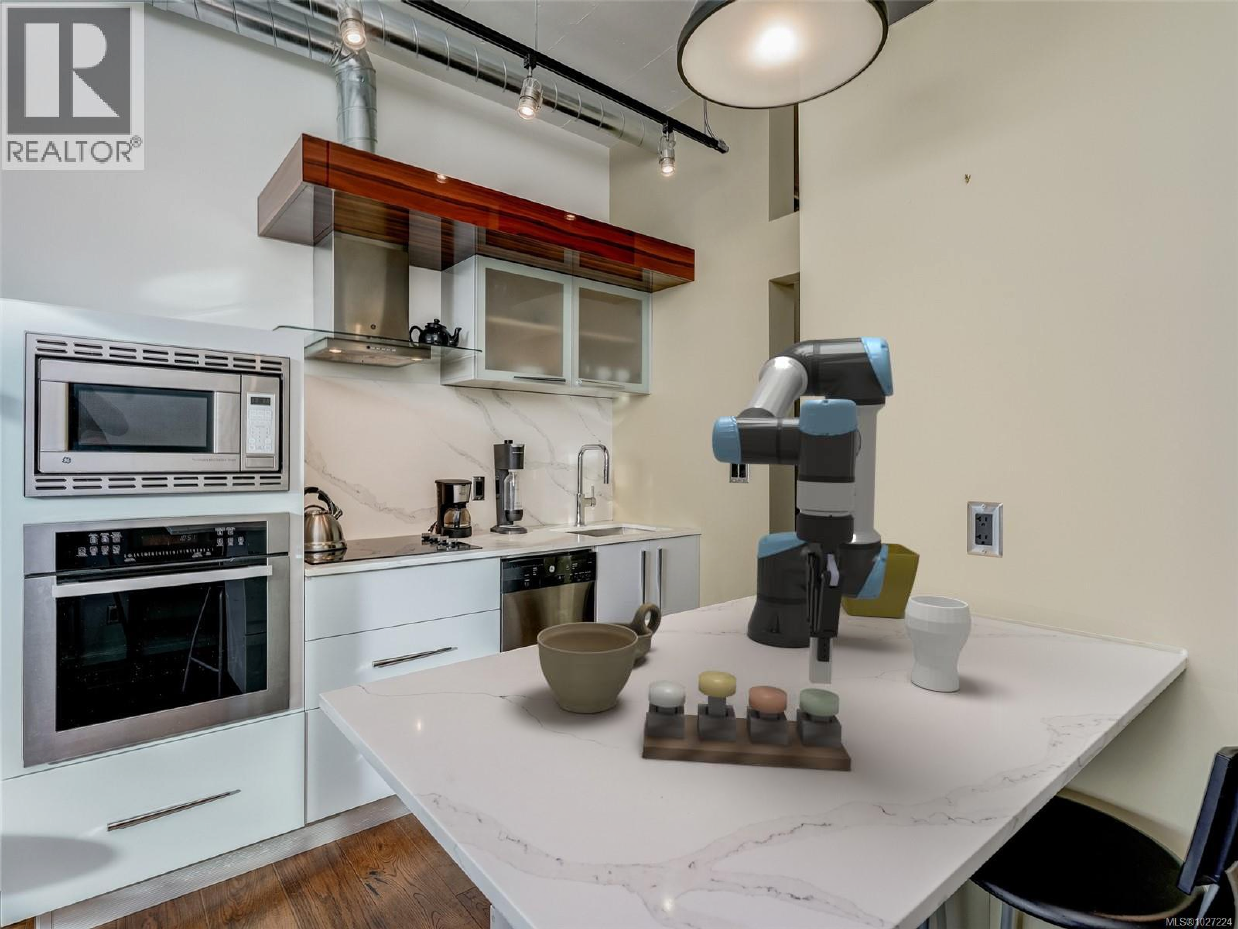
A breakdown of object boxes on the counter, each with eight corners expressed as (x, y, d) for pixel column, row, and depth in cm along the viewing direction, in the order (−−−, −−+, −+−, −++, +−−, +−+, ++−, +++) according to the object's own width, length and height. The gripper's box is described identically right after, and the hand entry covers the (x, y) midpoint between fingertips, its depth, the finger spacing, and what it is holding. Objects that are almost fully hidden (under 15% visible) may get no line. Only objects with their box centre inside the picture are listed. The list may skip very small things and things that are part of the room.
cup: (977, 698, 108) (980, 610, 108) (910, 692, 110) (913, 606, 110) (957, 676, 119) (960, 596, 118) (896, 671, 121) (899, 592, 120)
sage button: (802, 740, 86) (803, 702, 86) (795, 724, 91) (796, 687, 91) (842, 743, 85) (843, 704, 85) (832, 726, 91) (833, 689, 91)
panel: (642, 757, 85) (643, 724, 85) (646, 722, 96) (646, 692, 96) (850, 770, 83) (851, 736, 82) (829, 733, 94) (830, 702, 93)
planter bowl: (543, 682, 111) (545, 620, 111) (636, 685, 111) (638, 623, 110) (527, 722, 95) (529, 649, 95) (636, 726, 95) (637, 653, 94)
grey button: (646, 731, 88) (647, 693, 87) (648, 715, 93) (649, 679, 93) (684, 733, 87) (685, 695, 87) (684, 717, 92) (685, 681, 92)
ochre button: (698, 721, 87) (699, 683, 87) (697, 706, 92) (698, 670, 92) (737, 724, 87) (738, 685, 86) (733, 708, 92) (734, 672, 92)
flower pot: (837, 618, 159) (839, 551, 158) (825, 600, 178) (827, 540, 177) (918, 623, 156) (921, 555, 155) (897, 604, 174) (900, 543, 174)
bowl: (567, 655, 126) (569, 605, 125) (638, 641, 136) (639, 595, 136) (607, 676, 115) (608, 621, 114) (681, 659, 125) (682, 609, 124)
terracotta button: (750, 737, 86) (751, 699, 86) (745, 721, 92) (746, 684, 92) (789, 740, 86) (790, 701, 86) (782, 723, 91) (783, 686, 91)
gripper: (867, 519, 81) (861, 702, 82) (840, 507, 94) (835, 666, 95) (807, 517, 81) (801, 699, 82) (788, 506, 94) (784, 663, 95)
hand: (819, 681), depth 88 cm, fingers closed
